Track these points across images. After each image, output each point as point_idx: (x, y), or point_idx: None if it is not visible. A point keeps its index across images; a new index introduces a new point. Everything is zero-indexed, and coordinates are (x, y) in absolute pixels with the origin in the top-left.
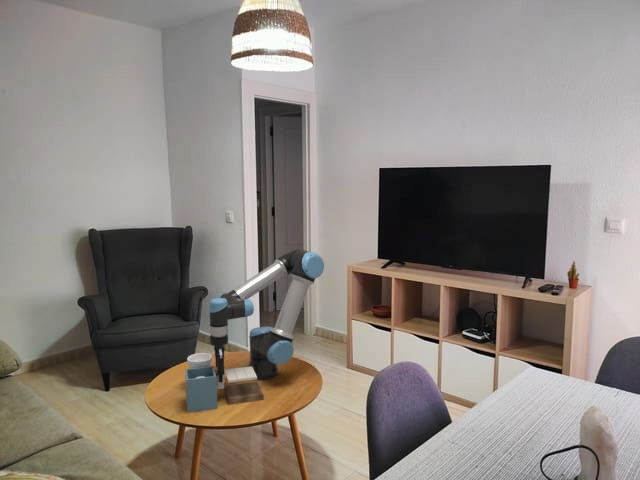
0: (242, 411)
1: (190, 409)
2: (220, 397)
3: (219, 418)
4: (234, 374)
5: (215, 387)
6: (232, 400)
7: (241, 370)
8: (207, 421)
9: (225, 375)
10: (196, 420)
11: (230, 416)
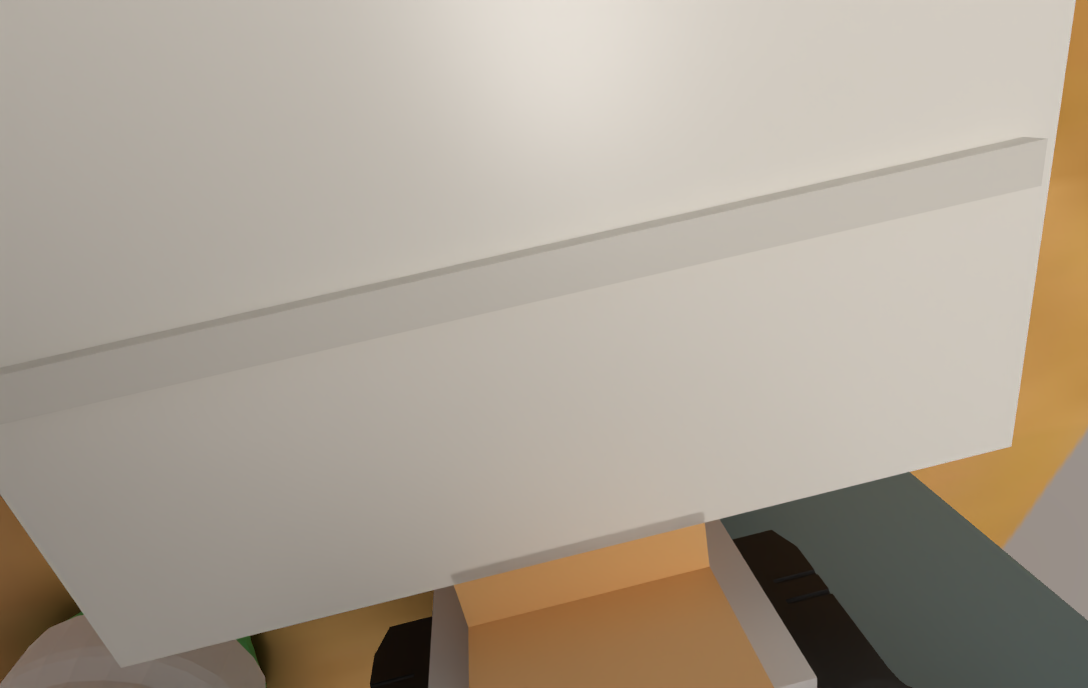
0: None
1: None
2: None
3: (1044, 327)
4: (584, 306)
5: (1054, 614)
6: None
7: (119, 13)
8: (1050, 435)
9: (633, 566)
10: (984, 532)
11: (1056, 202)
